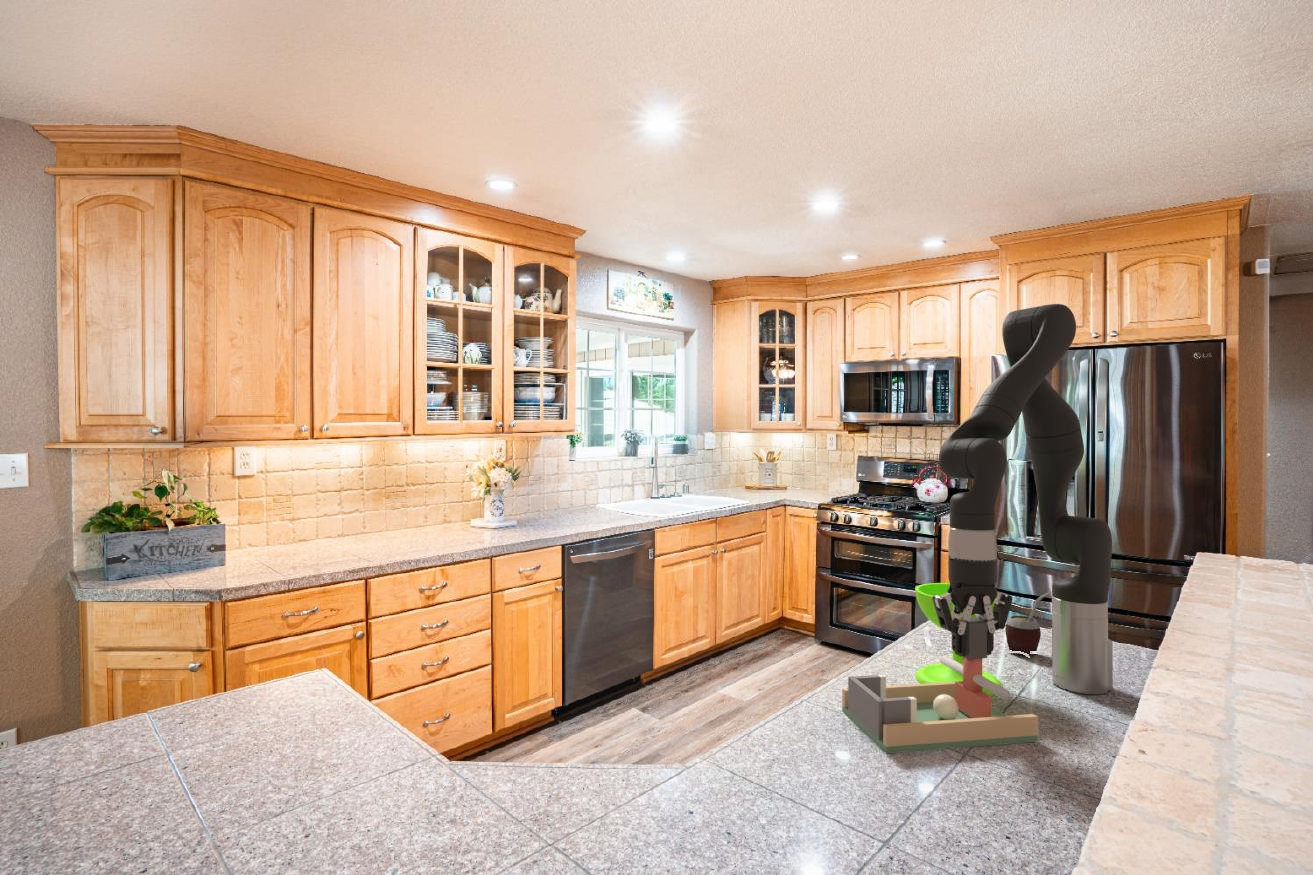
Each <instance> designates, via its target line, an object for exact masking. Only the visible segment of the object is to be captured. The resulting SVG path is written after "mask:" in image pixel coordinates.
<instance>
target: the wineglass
mask: <svg viewBox="0 0 1313 875" xmlns="http://www.w3.org/2000/svg"><path fill="white" fill-rule="evenodd" d="M949 586H950V582H935V583H933V582H931V583H924V584H920V585H919V584H918V585H917V586H915V587H914V589H915V591H914V592H915V596H916V597H915V598H916V602H917V603H918V607H919V608H920V610H921V612H922V613H923V615H925V617H926V618H927V619H928V620H929V621H930V622H932V623H933V624H934V625H935V626H937V627H938V628H941V629H943V630H945V631H948V630H946V629H944V628H942V627H941V626H940V623H939V620H938V616H937V613H936V610H935V606H934V603H933V600H932V597H933V596H934V595H938V596H940V595H943V594H946V593H947V591H948V589H949ZM994 604H995V602H993V603H992V605H991V608H992V611H993V607H994ZM950 605H951V606H950V607H949V610H950V613H952V609H953V605H954V604H953V603H952V601H951V600H950ZM960 614H961V615H962V614H963V613H961V612H960ZM970 618H977V617H976V615H975V614H974V615H971V617H970ZM977 619H978V618H977ZM948 632H949V631H948ZM952 659H953V660H955V661H956V662H958V663H960V664H962V665H963V657H960V656H958V655H956V654H955V652H954V651H953V650H952ZM982 676H983V677H985V678H987V679H989V680H990V681H992V682H994V683H996V684H997V685H999V686H1001V687H1003V684H1002V682H1001V681H1000V679H998V678H997V677H996V676H995V675H993V674H990V672H986V671H984V670H982ZM915 680H916V681H917V683H919V682H920V683H919V684H925V683H941V682H957V681H963V675H961V674H959V673H957V672H956V671H954V670H952V669H951V668H949V667H947V666H946V665H944V664H942V663H935V664H928V665H925V666H923V667H920V668H919V669H918V670H917V671H916V672H915ZM982 691H983V692H985V693H986V694H988V695H990V696H991V697H993V696H996V695H995V694H993V693H992V692H990V691H988V690H986V689H985V688H983V687H982Z"/></svg>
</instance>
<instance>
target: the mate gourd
mask: <svg viewBox="0 0 1313 875" xmlns="http://www.w3.org/2000/svg"><path fill="white" fill-rule="evenodd" d="M1050 594H1052V591H1049V592H1047V593H1044V594H1042V595H1041V596H1038V598H1037V599H1035V601H1034V605H1033V608H1032V610H1031V612H1030V615H1029V616H1026V615H1025V616H1024V615H1011V616H1010V617H1009V616H1008V617H1009V618H1007V621H1006V625H1005V628H1004V629H1005V630H1004V632H1005V636H1006V643H1007V647H1008V651H1010V650H1012V651H1021V652H1024V653H1027V654H1030V651H1037V652H1038V647H1039V644H1040V642H1041V638H1042V637H1041V635H1042V633H1041V632H1042V631H1041V626H1040V624H1039V622H1038V621H1037V619H1035V618H1034V614H1035V613H1036V610H1037V608H1038V605H1040V603H1041V600H1043V599H1044V598H1045V597H1047V596H1049V595H1050Z"/></svg>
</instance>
